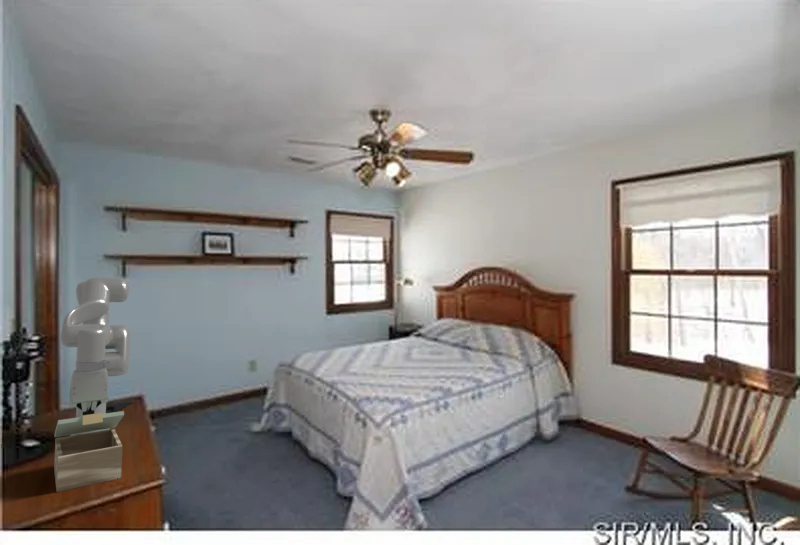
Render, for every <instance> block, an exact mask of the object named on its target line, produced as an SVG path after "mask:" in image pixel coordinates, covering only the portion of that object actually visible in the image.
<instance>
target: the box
mask: <svg viewBox="0 0 800 545" xmlns="http://www.w3.org/2000/svg"><path fill="white" fill-rule="evenodd" d="M54 441H55V447H54V461H53V462H54V465H53V468H54V469H53V470H54V480H55V481H54V482H55V488H56V489H55V490H56V493H59V492H65V491H69V490H73V489H78V488H81V487H86V486H91V485H96V484H99V483H100V484H101V483H105V482H108V481H113V480H117V478H118V479H122V464H123V449H124V448H123V444H122V442H121V440H120V437H119V436H118V434H117V432H116V429H115V428H110V430H104V431H98V432H91V433H85V434H79V435H73V436H70V435H66V436H60V437H55V440H54Z"/></svg>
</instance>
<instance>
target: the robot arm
mask: <svg viewBox="0 0 800 545" xmlns="http://www.w3.org/2000/svg"><path fill="white" fill-rule="evenodd" d="M75 293H76V300H77V302H78V306H76V307H75V308H73V309H72V310H70V311H69V312H68V313H67V314H66V315H65V317H64V318H63V321H62V326H61V333H60V341H61V344H62V345H63V346H64V347H66V348H76V359H75V370H73V371H72V374H71V378H70V385H69V401H68V407H70V408H76V412H75V418H78V417H82V416H83V415H90V414H97V413H103V414H106V404H107V403H108V402H109V401H110V399H109V377H116V376H117V377H118V376H124V375H126V374H127V373H128V372H129V368H130V345H131V344H130V342H131V341H130V339H131V338H130V330H129V328H128V327H127V326H126V325H123V324H121V325H120V324H119V325H117V324H115V325H113V324H111V325H110V324H109V317H110V315H109V310H110V303H123V302H126V301H127V300H128V297H129V294H130V286H129V282H128V281H127V280H126V279H125V278H119V277H92V278H89V279H87V280H86V281H82V282H79V283H78V284H77V285H76V290H75ZM106 350H115V351H107V352H106ZM110 429H111V428H109V429H103V430H97V431H90V432H84V433H78V434H72V435H69V436H73V435H79V434H85V433H91V432H98V431H104V430H110Z"/></svg>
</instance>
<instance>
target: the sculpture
mask: <svg viewBox="0 0 800 545" xmlns="http://www.w3.org/2000/svg"><path fill="white" fill-rule="evenodd" d="M133 403H134V400H130V401H117V402H115V401H114V402H111V403H106V413H113V412H120V410H122V409H123V408H125V407H127V406H129V405H131V404H133Z"/></svg>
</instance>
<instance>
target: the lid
mask: <svg viewBox="0 0 800 545" xmlns="http://www.w3.org/2000/svg"><path fill="white" fill-rule="evenodd" d="M124 416H125V411H124V410H122V411H120V410H119V411H118V412H113V413H106V414H103V413H97V414H90V415H83V416H82V417H78V418H76V417H72V418H71V417H70V418H64V419H58V420H57V423H56V427H55V431H54V438H60V437H66V436H70V435H72V434H78V433H84V432H90V431H97V430H103V429H109V428H110V429H115V428H116V427H117V426H118V425H119V423H120V421H121V420H122V419H123V417H124Z"/></svg>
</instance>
